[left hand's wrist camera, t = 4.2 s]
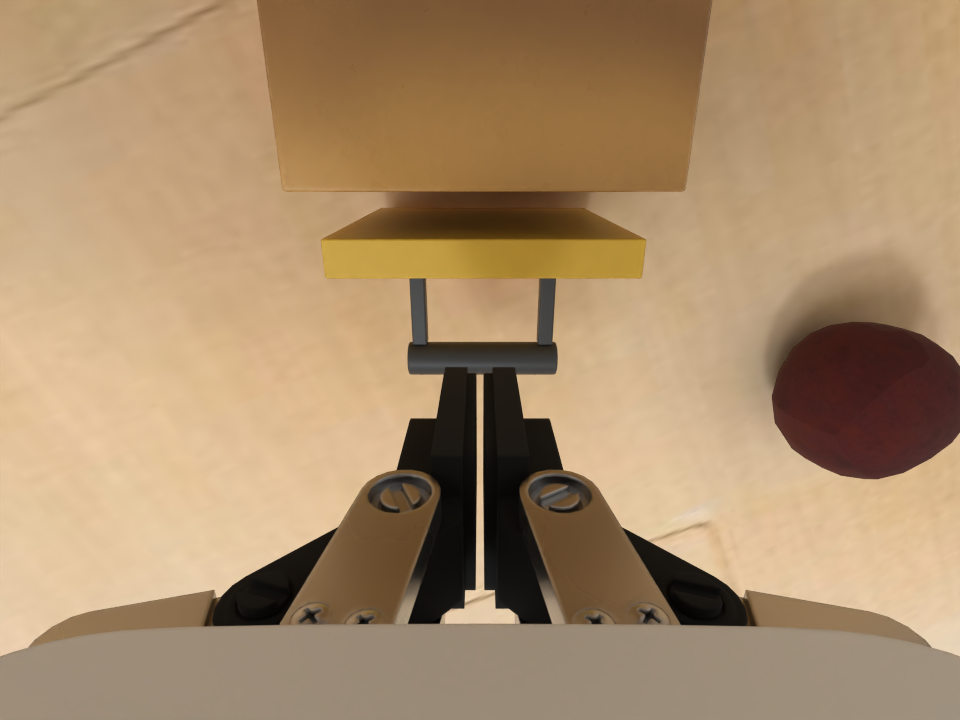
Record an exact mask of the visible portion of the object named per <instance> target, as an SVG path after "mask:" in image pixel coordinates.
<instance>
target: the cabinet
mask: <svg viewBox="0 0 960 720" xmlns="http://www.w3.org/2000/svg"><path fill="white" fill-rule="evenodd" d="M257 5H258V12H259V20H260V27H261V35H262V42H263V49H264V57H265V64H266V71H267V79H268V86H269V93H270V101H271V108H272V115H273V123H274V130H275V138H276V145H277V152H278V160H279V167H280V174H281V182H282V188H283V190H284V191H286V192H682V191H684V190H685V188H686V182H687V175H688V168H689V161H690V154H691V147H692V139H693V132H694V125H695V118H696V111H697V104H698V97H699V90H700V83H701V76H702V69H703V62H704V55H705V48H706V41H707V34H708V26H709V19H710V12H711V5H712V0H257Z"/></svg>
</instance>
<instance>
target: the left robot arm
mask: <svg viewBox="0 0 960 720" xmlns="http://www.w3.org/2000/svg"><path fill="white" fill-rule="evenodd" d="M476 496H477V410H476V373H468V367H445V371H444V377H443V383H442V389H441V395H440V401H439V407H438V413H437V419H410V422H409V426H408V429H407V433H406V437H405V441H404V444H403V448H402V452H401V456H400V459H399V463H398V467H397V470H396V471H390V472H386V473H384V474H381V475H378V476H376V477H375V478H373V479H371V480H370V481H368V482H367V483H366V484H365V486H364V487H363V488H362V489H361V491H360V492H359V494H358V496H357V497H356V499H355V501H354V502H353V504H352V505H351V507H350V509H349V510H348V512H347V514H346V515H345V517H344V519H343V520H342V522H341V524H340V525H339V527H338V528H336V529H334V530H332V531H330V532H328V533H326V534H324V535H323V536H321V537H319V538H317V539H315V540H313V541H311V542H310V543H308V544H306V545H304V546H302V547H300V548H298V549H296V550H295V551H293V552H291V553H289V554H287V555H285V556H283V557H281V558H280V559H278V560H276V561H274V562H272V563H270V564H268V565H266V566H265V567H263V568H261V569H259V570H257V571H255V572H253V573H252V574H250V575H248V576H246V577H244V578H243V579H241V580H240V581H238V582H237V583H235V584H234V585H232V586H231V587H230V588H229V589H228V590H227V591H226V592H225V593H224V594H223V595H222V596H221V597H218V598H216V595H215V591H214V590H211V591H205V592H200V593H194V594H188V595H183V596H177V597H171V598H165V599H160V600H154V601H148V602H142V603H137V604H131V605H125V606H120V607H114V608H108V609H102V610H97V611H91V612H87V613H84V614H80V615H77V616H74V617H71V618H69V619H67V620H65V621H63V622H61V623H59V624H57V625H55V626H53V627H51V628H50V629H49V630H47V631H46V632H45V633H43V634H42V635H41V636H39V637H38V638H37V639H35V640H34V641H33V643H32V644H31V645H30V646H29V647H28V648H26V649H22V650H19V651H15V652H12V653H9V654H6V655H3V656H1V657H0V720H960V657H959V656H957V655H954V654H951V653H948V652H945V651H941V650H938V649H934V648H932V647H931V646H930V645H929V644H928V643H927V641H926V640H925V639H923V638H922V637H921V636H919V635H918V634H917V633H915V632H914V631H913V630H911V629H910V628H909V627H907V626H905V625H903V624H901V623H899V622H897V621H895V620H893V619H891V618H889V617H886V616H883V615H880V614H876V613H873V612H869V611H863V610H858V609H852V608H846V607H840V606H835V605H829V604H823V603H818V602H812V601H806V600H800V599H795V598H789V597H783V596H777V595H772V594H766V593H760V592H755V591H749V590H746V591H745V595H744V598H742V597H739V596H738V595H737V594H736V593H735V592H734V591H733V590H732V589H731V588H730V587H729V586H728V585H726V584H725V583H723V582H722V581H720V580H719V579H717V578H716V577H714V576H712V575H710V574H708V573H707V572H705V571H703V570H701V569H699V568H697V567H695V566H694V565H692V564H690V563H688V562H686V561H684V560H682V559H680V558H679V557H677V556H675V555H673V554H671V553H669V552H667V551H665V550H664V549H662V548H660V547H658V546H656V545H654V544H652V543H650V542H649V541H647V540H645V539H643V538H641V537H639V536H637V535H636V534H634V533H632V532H630V531H628V530H626V529H624V528H622V527H621V525H620V524H619V522H618V520H617V519H616V517H615V515H614V514H613V512H612V510H611V509H610V507H609V505H608V504H607V502H606V501H605V499H604V497H603V496H602V494H601V492H600V491H599V489H598V488H597V487H596V486H595V484H594V483H593V482H592V481H590V480H589V479H587V478H585V477H584V476H582V475H579V474H576V473H574V472H570V471H564V470H563V467H562V463H561V459H560V456H559V452H558V448H557V444H556V441H555V437H554V433H553V429H552V426H551V422H550V419H523V413H522V407H521V401H520V395H519V389H518V383H517V377H516V371H515V367H492V373H484V410H483V496H484V590H495V604H496V609H510V610H511V611H513V612H514V613H515V624H445V613H446V612H447V611H449V610H450V609H464V604H465V590H476Z"/></svg>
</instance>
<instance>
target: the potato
mask: <svg viewBox="0 0 960 720" xmlns="http://www.w3.org/2000/svg"><path fill="white" fill-rule="evenodd" d="M772 403H773V411H774V419H775V424H776V425H777V427H778V428H779V430H780V431H781V433H782V434H783V436H784V437H785V439H786V440H787V442H788V443H789V445H790V446H791V448H792V449H793V450H795V451H796V452H797V453H799V454H800V455H801V456H803V457H804V458H806V459H808V460H809V461H811V462H813V463H815V464H817V465H818V466H820V467H822V468H824V469H827V470H829V471H831V472H834V473H836V474H839V475H841V476H847V477H854V478H861V479H880V478H884V477H888V476H893V475H897V474H901V473H904V472H906V471H908V470H910V469H912V468H914V467H915V466H917V465H919V464H921V463H923V462H925V461H927V460H929V459H931V458H932V457H933V456H935V455H936V454H937V453H939V452H940V451H941V450H943V449H944V448H945V447H947V446H948V445H949V444H951V443H952V442H953V440H954V439H955V438H956V437H957V435H958V434H959V433H960V366H959V365H958V363H957V362H956V360H955V359H954V357H953V356H952V355H950V354H949V353H948V352H947V351H945V350H944V349H943V348H941V347H940V346H939V345H938V344H936V343H934V342H933V341H931V340H930V339H928V338H926V337H925V336H923V335H921V334H918V333H915V332H912V331H909V330H906V329H902V328H898V327H893V326H889V325H884V324H878V323H869V322H850V323H843V324H836V325H831V326H827V327H825V328H822V329H820V330H818V331H815V332H813V333H811V334H809V335H808V336H807V337H806V338H804V339H803V340H802V341H801V342H800V343H799V344H797V345H796V346H795V347H794V348H793V349H792V351H791V352H790V354H789V356H788V357H787V359H786V360H785V362H784V364H783V365H782V367H781V369H780V370H779V373H778V377H777V380H776V383H775V387H774V390H773V394H772Z"/></svg>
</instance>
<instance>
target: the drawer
mask: <svg viewBox="0 0 960 720" xmlns="http://www.w3.org/2000/svg"><path fill="white" fill-rule="evenodd" d="M321 245H322V254H323V262H324V271H325V277H326V278H410V297H411V317H412V336H413V342H410V343H409V346H408V370H409V373H410V374H444V371H445V367H468V373H476V374H484V373H492V367H515V371H516V374H556V371H557V361H558V355H557V346H556V343H555V342H552V339H553V321H554V303H555V285H556V278H641V277H642V272H643V263H644V255H645V246H646V239H644V238H642V237H640V236H638V235H636V234H634V233H632V232H630V231H628V230H626V229H624V228H622V227H620V226H618V225H616V224H614V223H612V222H610V221H608V220H606V219H604V218H602V217H600V216H598V215H596V214H594V213H592V212H590V211H588V210H586V209H584V208H380V209H379V210H377V211H375V212H373V213H371V214H369V215H367V216H365V217H363V218H361V219H359V220H358V221H356V222H354V223H352V224H350V225H348V226H346V227H344V228H342V229H340V230H338V231H337V232H335V233H333V234H331V235H329V236H327V237H325V238H323V239H322V240H321ZM426 278H539V299H538V322H537V342H428V319H427V294H426Z"/></svg>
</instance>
